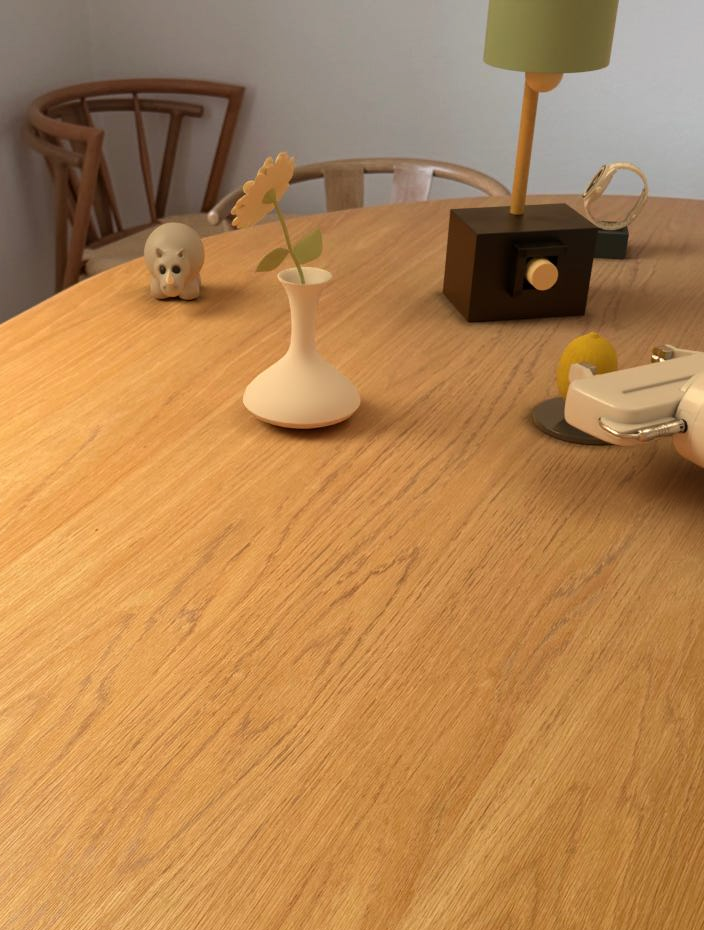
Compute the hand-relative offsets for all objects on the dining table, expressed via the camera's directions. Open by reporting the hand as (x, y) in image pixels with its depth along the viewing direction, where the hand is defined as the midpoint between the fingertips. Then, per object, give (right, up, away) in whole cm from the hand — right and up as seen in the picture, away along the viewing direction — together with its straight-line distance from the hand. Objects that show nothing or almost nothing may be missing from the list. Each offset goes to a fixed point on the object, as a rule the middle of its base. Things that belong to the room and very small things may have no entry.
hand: (617, 361), depth 115 cm
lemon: (-1, -4, +7) cm, 8 cm away
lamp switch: (-1, +14, +25) cm, 29 cm away
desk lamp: (-2, +14, +34) cm, 37 cm away
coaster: (-1, -4, +6) cm, 8 cm away
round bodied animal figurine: (-42, +15, +35) cm, 57 cm away
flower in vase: (-29, -4, +8) cm, 30 cm away
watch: (+14, +25, +50) cm, 58 cm away
